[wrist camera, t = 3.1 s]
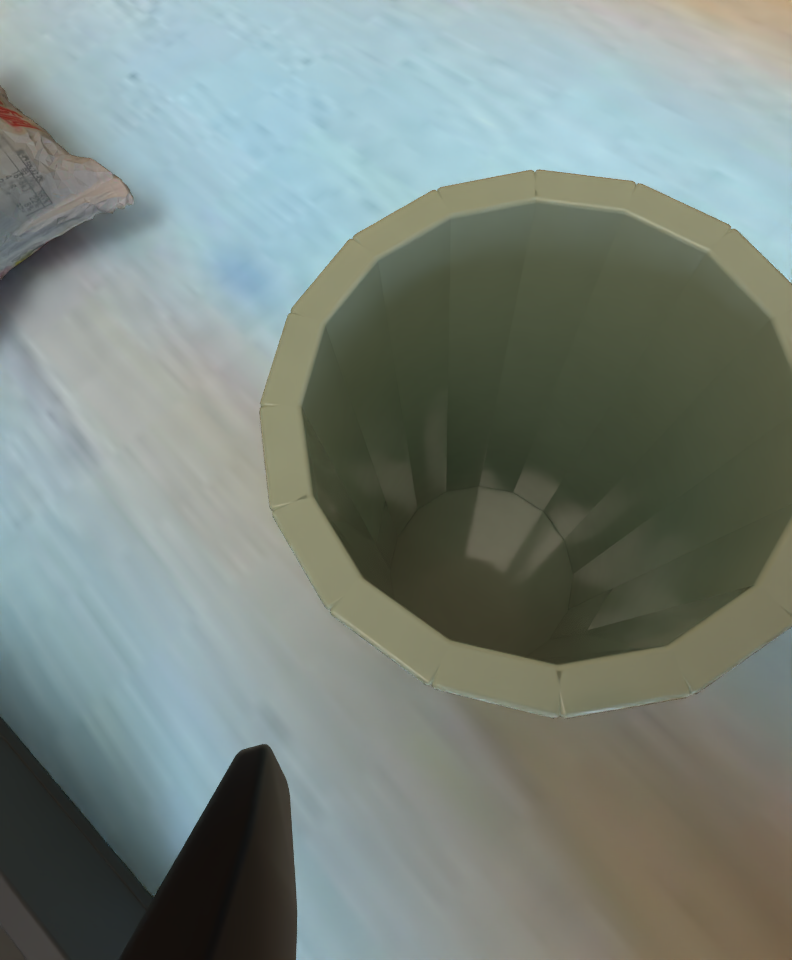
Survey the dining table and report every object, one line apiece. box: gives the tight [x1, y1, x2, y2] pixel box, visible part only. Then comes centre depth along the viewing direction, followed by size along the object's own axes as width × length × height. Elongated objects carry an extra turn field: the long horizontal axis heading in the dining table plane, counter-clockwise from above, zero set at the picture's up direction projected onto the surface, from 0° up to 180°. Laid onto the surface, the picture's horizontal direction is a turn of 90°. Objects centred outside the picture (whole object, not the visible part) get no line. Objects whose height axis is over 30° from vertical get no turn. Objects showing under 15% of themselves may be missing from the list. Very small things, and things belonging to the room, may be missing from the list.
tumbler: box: [259, 170, 792, 719], centre depth 13 cm, size 6×6×13 cm
